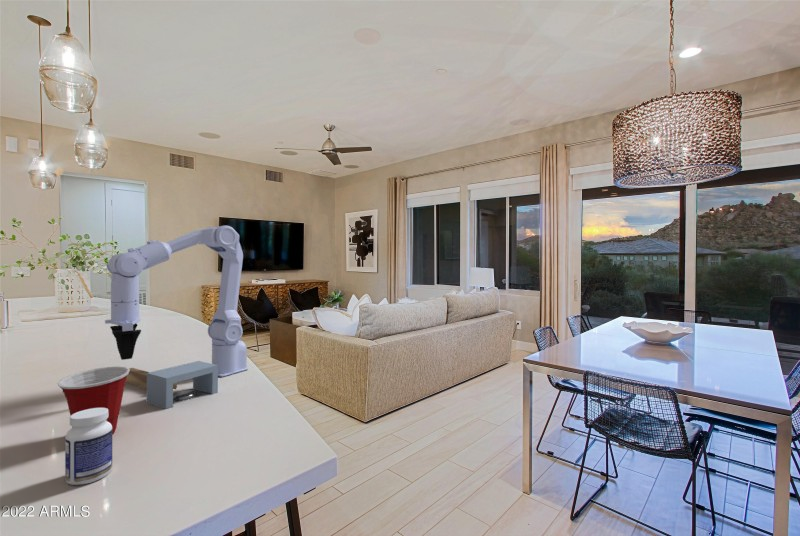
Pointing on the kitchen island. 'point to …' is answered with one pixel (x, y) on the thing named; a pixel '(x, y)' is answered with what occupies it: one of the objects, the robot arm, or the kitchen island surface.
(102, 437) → the pill bottle
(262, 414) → the kitchen island surface
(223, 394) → the kitchen island surface
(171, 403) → the low shelf
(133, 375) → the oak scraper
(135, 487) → the kitchen island surface
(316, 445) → the kitchen island surface
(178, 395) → the steel token
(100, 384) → the plastic cup
